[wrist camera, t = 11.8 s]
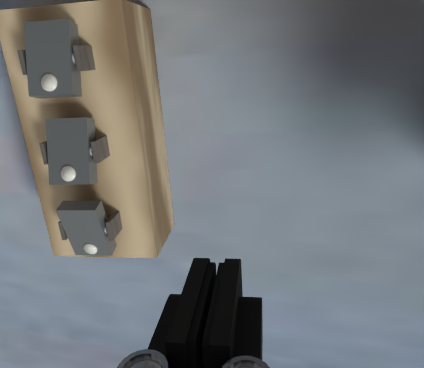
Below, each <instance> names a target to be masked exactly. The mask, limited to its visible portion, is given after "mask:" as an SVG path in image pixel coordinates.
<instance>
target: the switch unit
mask: <svg viewBox="0 0 424 368" xmlns="http://www.w3.org/2000/svg"><path fill="white" fill-rule="evenodd" d="M57 19H69V20H71V21H72V22H74V23H75V24H77V25H78V38H79V45H76V46H73V51H74V57H75V62H76V68H77V71H80V72H81V88H82V97H65V98H46V99H39V98H34V97H30V96H29V93H28V79H27V66H26V52H25V38H24V25H23V23H24V22H35V21H46V20H57ZM0 42H1V46H2V50H3V54H4V58H5V62H6V66H7V70H8V74H9V78H10V82H11V86H12V90H13V94H14V98H15V102H16V106H17V110H18V114H19V118H20V122H21V126H22V130H23V134H24V138H25V142H26V146H27V150H28V154H29V158H30V162H31V166H32V170H33V174H34V178H35V182H36V186H37V190H38V194H39V198H40V202H41V206H42V210H43V214H44V218H45V222H46V226H47V230H48V234H49V238H50V242H51V246H52V250H53V254H54V256H85V257H130V258H157V256H158V254H159V252H160V250H161V249H162V247H163V245H164V243H165V241H166V239H167V237H168V235H169V233H170V232H171V230H172V228H173V226H174V217H173V208H172V199H171V190H170V181H169V172H168V163H167V154H166V145H165V136H164V127H163V118H162V109H161V100H160V91H159V82H158V73H157V64H156V55H155V47H154V38H153V29H152V20H151V11H150V9H148V8H146V7H143V6H141V5H138V4H135V3H133V2H130V1H127V0H97V1H86V2H76V3H66V4H56V5H45V6H35V7H25V8H15V9H4V10H0ZM81 117H88V118H92V119H95V137H96V139H95V140H93V141H91V142H90V143H91V148H92V154H93V159H94V163H97V180H98V183H95V184H76V185H49V172H48V155H47V137H46V119H57V118H81ZM62 201H102V204H103V207H104V210H105V213H106V216H107V219H108V220H107V221H106V223H105V224H106V229H107V234H108V240H109V241H113V240H114V239H115V242H116V245H117V246H116V248H115V250H114V252H113V254H112V256H99V255H75V252H74V250H73V248H72V246H71V244H70V241H69V239H68V237H67V235H66V232H65V230H64V228H63V226H62V223H61V221H60V219H59V217H58V214H57V212H56V209H57V208H58V207H59V205H60V204H61V203H62Z"/></svg>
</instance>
